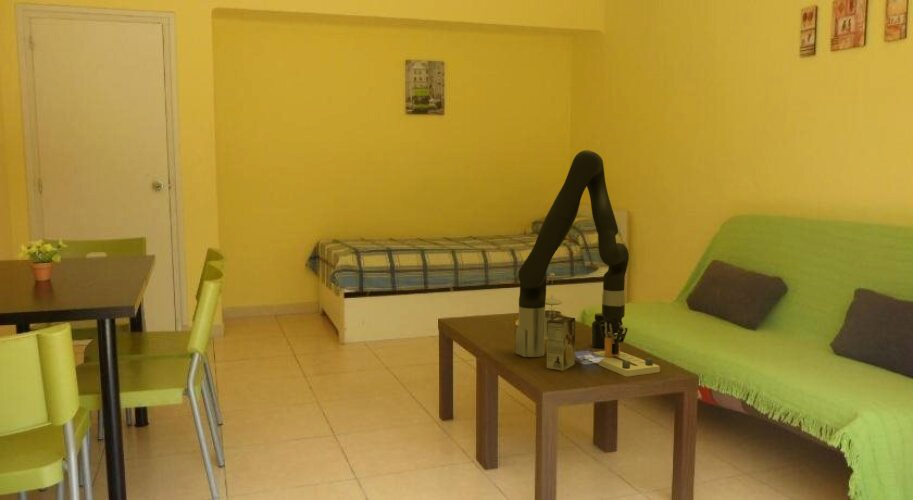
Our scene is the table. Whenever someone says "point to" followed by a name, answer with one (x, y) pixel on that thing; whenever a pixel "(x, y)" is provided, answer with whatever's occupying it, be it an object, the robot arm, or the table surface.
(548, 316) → the french press
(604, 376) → the table surface
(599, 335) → the supplement bottle
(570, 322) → the coffee box
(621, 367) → the console
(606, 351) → the fader cap
